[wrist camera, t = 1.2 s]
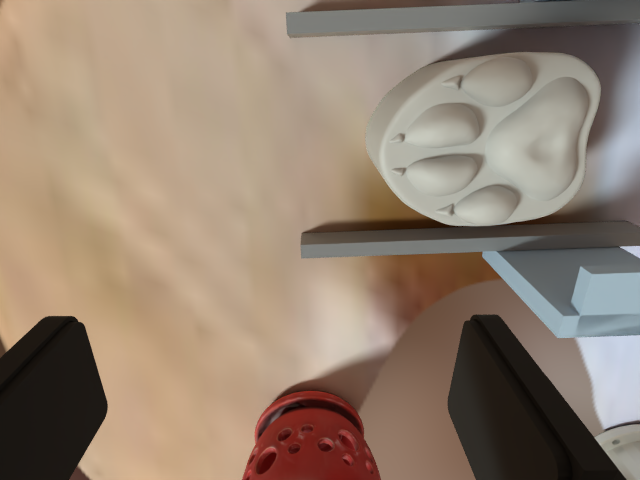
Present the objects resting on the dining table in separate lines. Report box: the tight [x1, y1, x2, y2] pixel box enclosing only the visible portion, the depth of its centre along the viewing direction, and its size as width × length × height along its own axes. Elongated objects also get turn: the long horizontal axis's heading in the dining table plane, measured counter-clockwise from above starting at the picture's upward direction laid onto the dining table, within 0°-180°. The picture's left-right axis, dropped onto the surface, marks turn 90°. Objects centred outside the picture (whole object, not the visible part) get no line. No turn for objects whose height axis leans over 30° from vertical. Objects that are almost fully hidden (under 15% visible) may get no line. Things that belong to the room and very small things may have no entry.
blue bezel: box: [482, 0, 640, 338], centre depth 24 cm, size 10×21×12 cm, turn 2°
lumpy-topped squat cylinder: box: [365, 52, 601, 226], centre depth 26 cm, size 10×13×9 cm
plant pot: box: [242, 391, 381, 480], centre depth 36 cm, size 13×13×12 cm
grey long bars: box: [286, 0, 640, 258], centre depth 28 cm, size 28×17×2 cm, turn 92°
